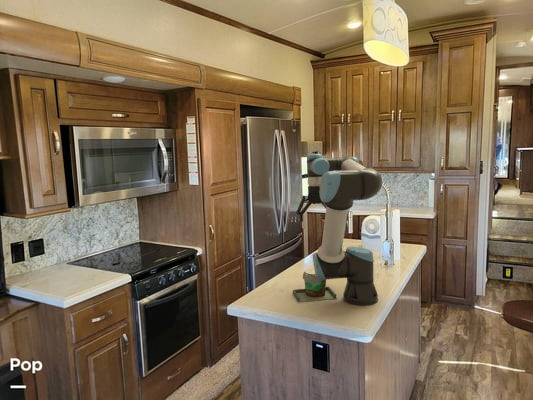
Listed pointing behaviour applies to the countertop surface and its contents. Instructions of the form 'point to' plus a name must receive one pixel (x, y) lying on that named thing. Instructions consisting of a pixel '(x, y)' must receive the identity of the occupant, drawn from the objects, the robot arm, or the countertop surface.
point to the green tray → (302, 297)
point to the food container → (314, 285)
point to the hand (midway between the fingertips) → (316, 227)
